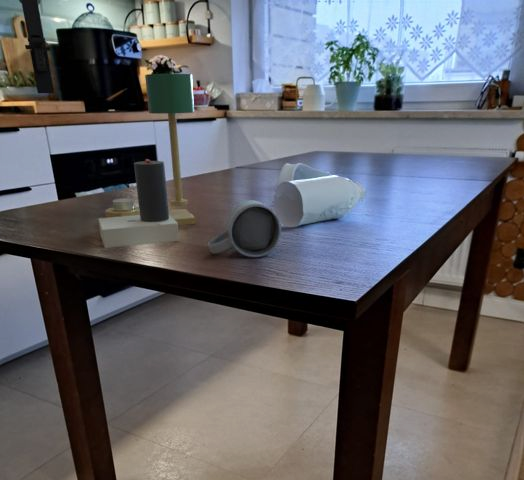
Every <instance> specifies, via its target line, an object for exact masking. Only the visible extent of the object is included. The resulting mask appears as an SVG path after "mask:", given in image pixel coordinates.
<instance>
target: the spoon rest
mask: <svg viewBox="0 0 524 480" xmlns="http://www.w3.org/2000/svg"><path fill="white" fill-rule="evenodd" d="M330 173H331V172H329V171H322V170H319V169H316V168H314V167H311V166H309V165H308V164H304V163H301V162H299V163H295V164H291V163H285V164H284V165H283V166H282V168H281V169H280V172H279V175H278V177H277V180H276V184H275V187H276V186H278V185H279V184H280V183H283V182H288V181H296V180H305V179H313V178H320V177H326V176H330V175H331V174H330ZM274 190H275V191H274V194H275V193H276V188H275V189H274Z"/></svg>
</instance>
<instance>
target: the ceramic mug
mask: <svg viewBox="0 0 524 480" xmlns="http://www.w3.org/2000/svg"><path fill="white" fill-rule="evenodd" d="M281 236H282V223H281V222H280V220H279V218H278V216H277V214H276V213H275V211H274V209H272V208H271V207H269V206H268V205H266V204H264V203H263V202H261V201H258V200H254V199H248V200H243V201H241V202H239V203H238V204H236V205H235V206H234V207H233V208H232V209H231V211H230V213H229V215H228V217H227V230H224V231H223V232H221V233H219V234H217V235H216V236H214V237H213V238H211V239H210V240H209V241H208V243H207V248H208V249H209V251H210V253H211V254H213V255H217V254H221V253H224V252H226V251H228V250H230V249H232V248H234V250H236V251H237V252H238V253H239V254H240V255H242V256H244V257H247V258H262V257H264V256H267V255H270V253H272V252H273V251H274V250H275V248H276V247H277V246H278V244H279V242H280V239H281Z"/></svg>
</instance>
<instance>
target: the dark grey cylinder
mask: <svg viewBox="0 0 524 480" xmlns="http://www.w3.org/2000/svg"><path fill="white" fill-rule="evenodd" d="M133 168H134V176H135V185H136V186H135V187H136V194H137V202H138V207H139V211H140V220H141V221H145V222H159V221H165V220H168V219H169V200H168V190H167V189H168V188H167V181H166V180H167V179H166V178H167V177H166V170H165V169H166V167H165V161H163V160H162V161H161V160H150V159H149V158H145V160H144V161H143V160H142V161H136V162H133Z"/></svg>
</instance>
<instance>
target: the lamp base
mask: <svg viewBox="0 0 524 480" xmlns="http://www.w3.org/2000/svg"><path fill="white" fill-rule="evenodd" d="M133 207H134V210H131V211H123V212H117V211H114V208H113V206H112V207H109V208H106V209H105V218H110V217H123V216H135V215H140V211H139V206H137V205H133ZM168 210H169V209H168ZM169 215H170V216H171V217H172V218H173V216H181V217H177V218H173V219H174V220H175V221H176V222H177V223H178V226H186V225H187V226H188V225H189V226H190V225H196V223H197V222H196V217H195V216H194V215H193V214H192V213H191V212H190V211H189V210H187V209H186V208H181V209H180V208H179V209H170V210H169Z"/></svg>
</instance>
